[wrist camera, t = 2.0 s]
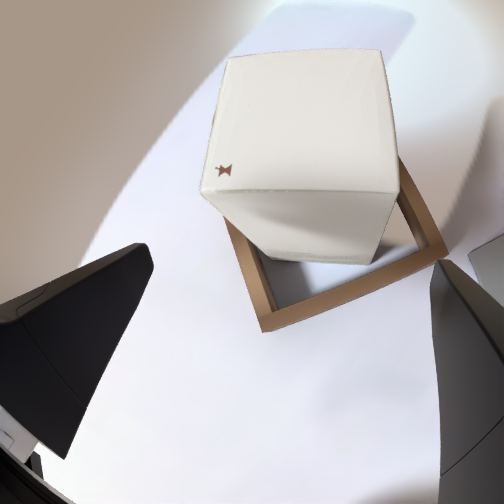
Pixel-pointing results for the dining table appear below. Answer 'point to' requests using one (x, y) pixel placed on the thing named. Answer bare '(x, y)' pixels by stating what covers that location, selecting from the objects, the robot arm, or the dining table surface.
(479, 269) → the slate mat
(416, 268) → the brown wooden frame
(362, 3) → the dining table surface
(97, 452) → the dining table surface
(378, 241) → the supplement box
